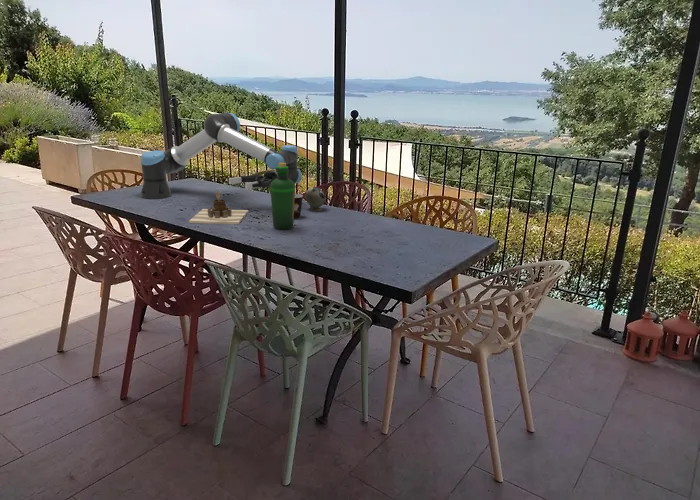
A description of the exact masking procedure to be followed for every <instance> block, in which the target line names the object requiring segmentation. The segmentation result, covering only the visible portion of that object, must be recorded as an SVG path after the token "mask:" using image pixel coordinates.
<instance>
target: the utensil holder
mask: <svg viewBox="0 0 700 500" xmlns="http://www.w3.org/2000/svg"><path fill="white" fill-rule="evenodd" d="M219 193H220V194H219ZM221 194H223V191H221V190H218V191H217V190H216V191H215V197H216V198H217V199H214V200H213V206H212V207H213V213H214V216H215V211H220V217H222V216H223V214H222V211H225V210H227V209H226V207H227V204H226V200H225V199H223V197H221Z"/></svg>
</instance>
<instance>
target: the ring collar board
mask: <svg viewBox="0 0 700 500" xmlns="http://www.w3.org/2000/svg"><path fill="white" fill-rule="evenodd" d="M226 209H227V210H225V211H222V214H223V216H222V217H220V211H215V216H214V213H213V206H211V208H210V207H208V208H202V209H201V210H200V211H198V213H196V214H195V215H194V216H192V217H191V219H189V220H188V223H189V224H209V225H211V224H212V225H215V224H216V225H240V223H241V222H242V221H243V220H244V219H245V217H246V216H247V215H248V213H249V210H248V209H232V208H231V207H230V206H226Z"/></svg>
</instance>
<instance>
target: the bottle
mask: <svg viewBox="0 0 700 500" xmlns="http://www.w3.org/2000/svg"><path fill="white" fill-rule="evenodd" d="M278 164H279V166H277V168H276V169H275V171H276V172H277V175H278V178H276V179H275V180H273V181H272V182H271V184H270V187H269V189H270V202H271V213H272V226H273V228H274V229H276V230H282V231H284V230H290V229H293V227H294V219H295V218H294V200H295V194H296V184H294V182H293V181H292V180H290V179H289V178H287V175H288V172H289V169H288V166H286V163H278Z"/></svg>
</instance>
